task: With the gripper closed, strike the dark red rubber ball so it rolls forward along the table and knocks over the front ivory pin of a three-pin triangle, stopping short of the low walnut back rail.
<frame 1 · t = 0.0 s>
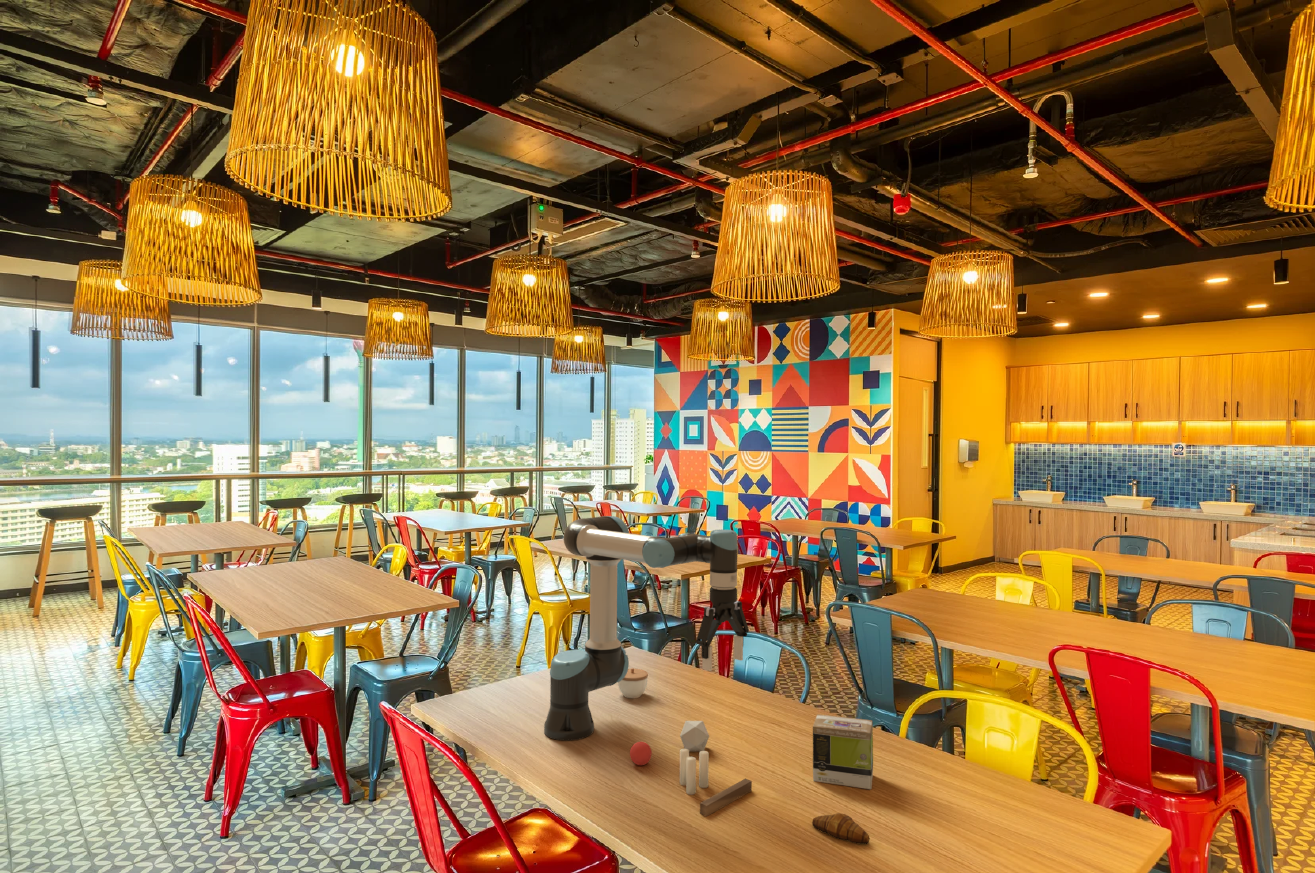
hand: (722, 664, 201), 28 cm above the table, tool pointing down, fingers open, 13 cm apart
back rail: (726, 801, 181), on the table
ball: (640, 753, 202), on the table
die: (694, 749, 212), on the table
back pin right: (690, 792, 186), on the table
croissant: (840, 836, 166), on the table
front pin: (684, 783, 191), on the table
tea box: (843, 778, 195), on the table
back pin left: (703, 785, 190), on the table
lidded jar: (632, 695, 257), on the table
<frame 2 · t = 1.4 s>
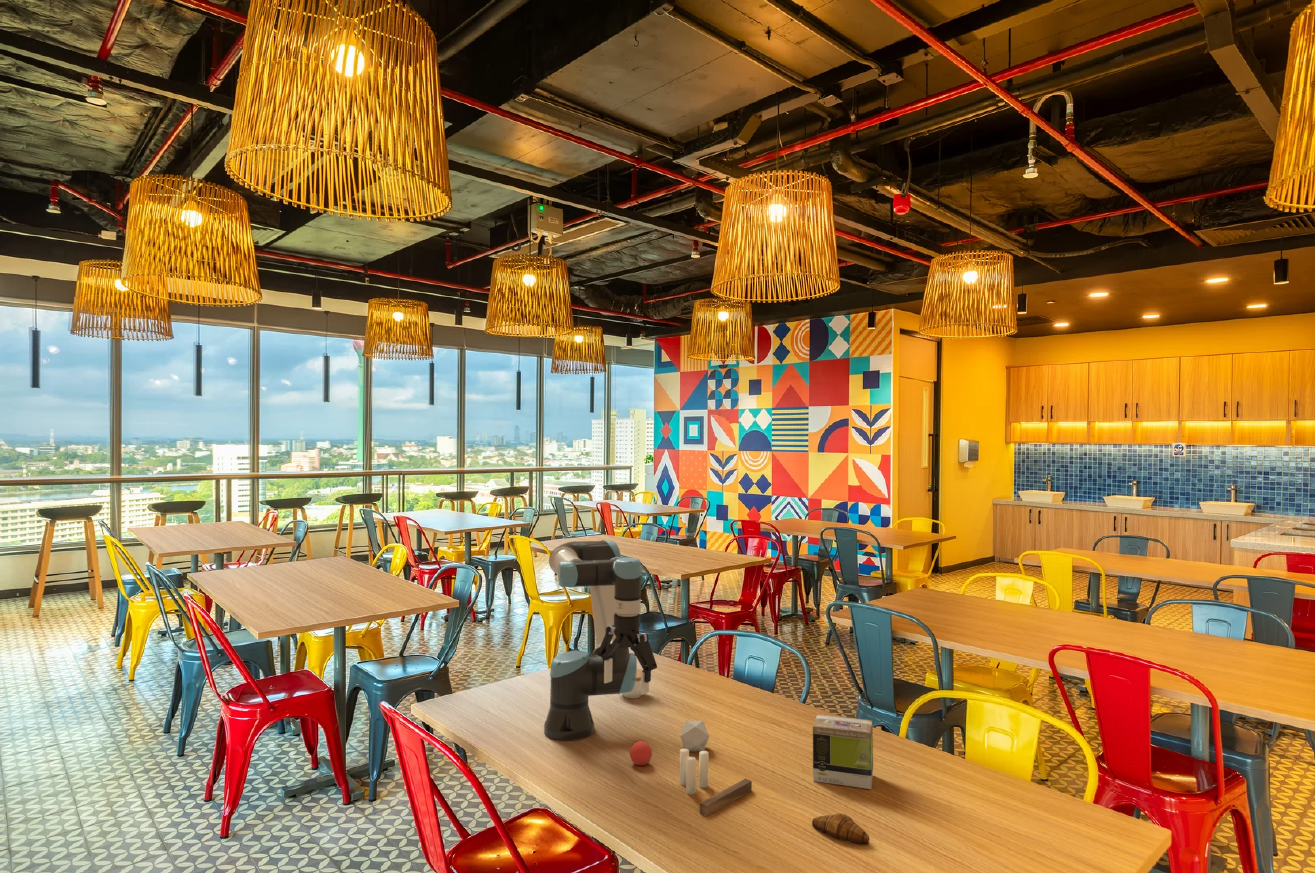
hand: (626, 687, 209), 19 cm above the table, tool pointing down, fingers open, 13 cm apart
nothing on the table moved.
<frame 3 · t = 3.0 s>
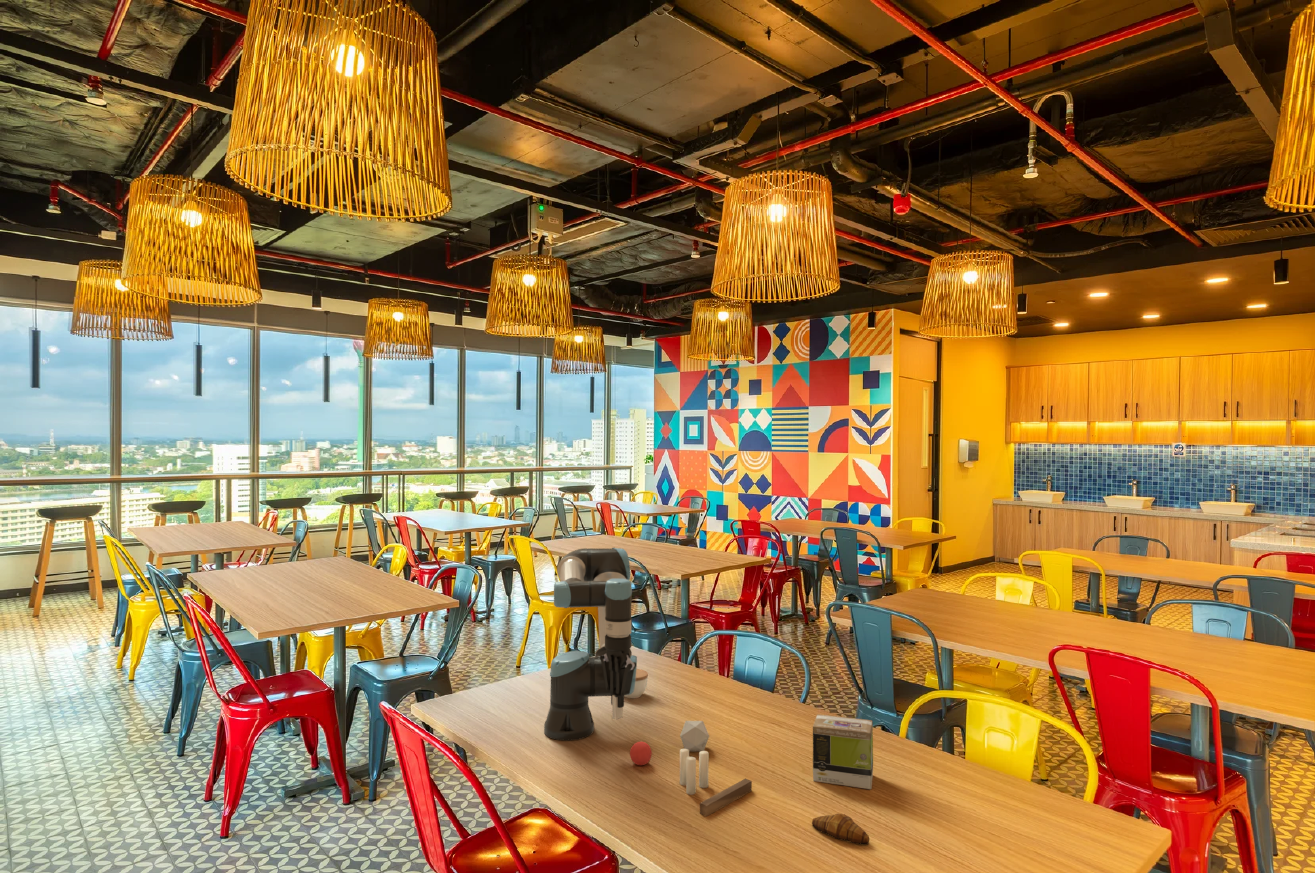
hand: (617, 717, 208), 10 cm above the table, tool pointing down, fingers closed
nothing on the table moved.
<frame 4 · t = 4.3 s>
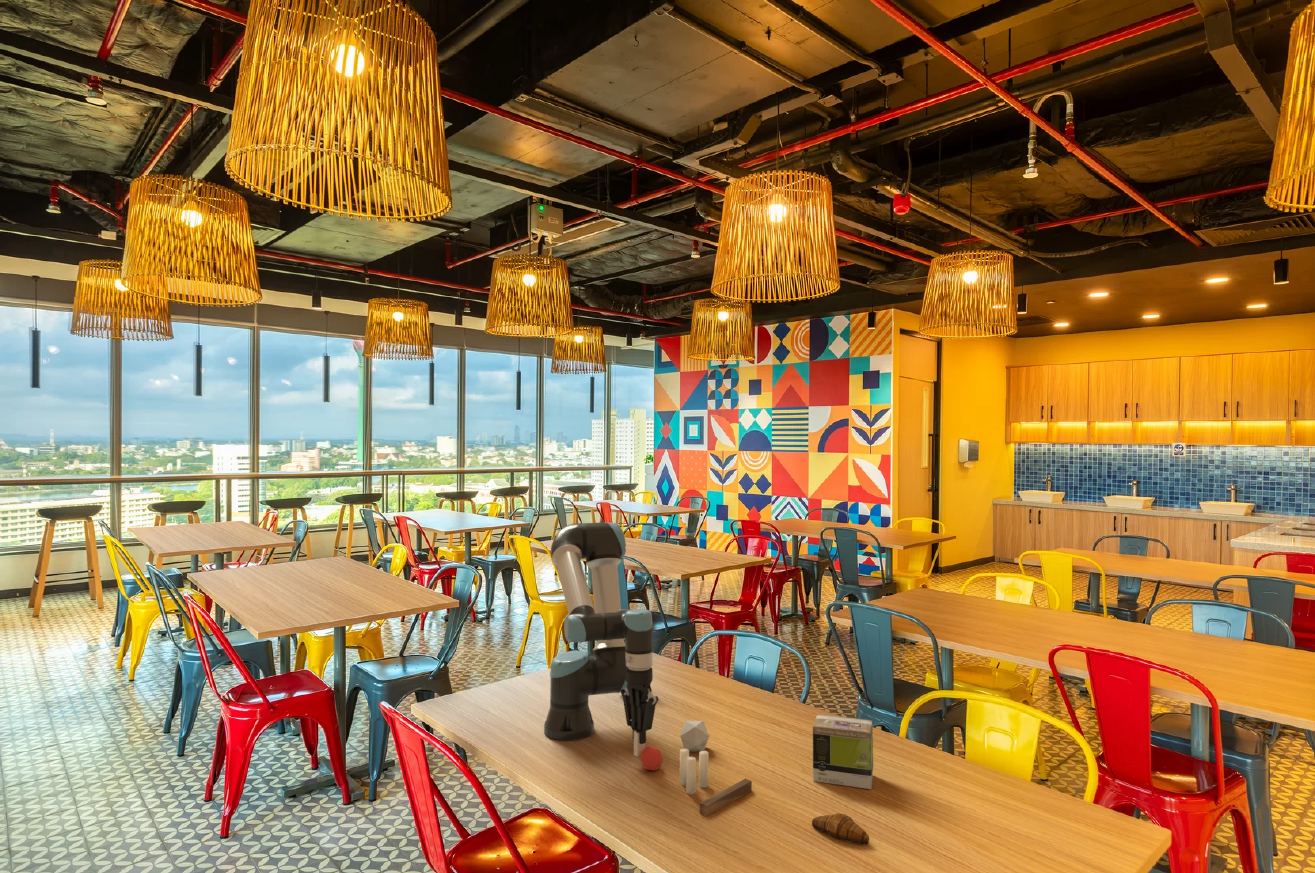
hand: (639, 754, 201), 3 cm above the table, tool pointing down, fingers closed
ball: (651, 758, 199), on the table
everything else where it was.
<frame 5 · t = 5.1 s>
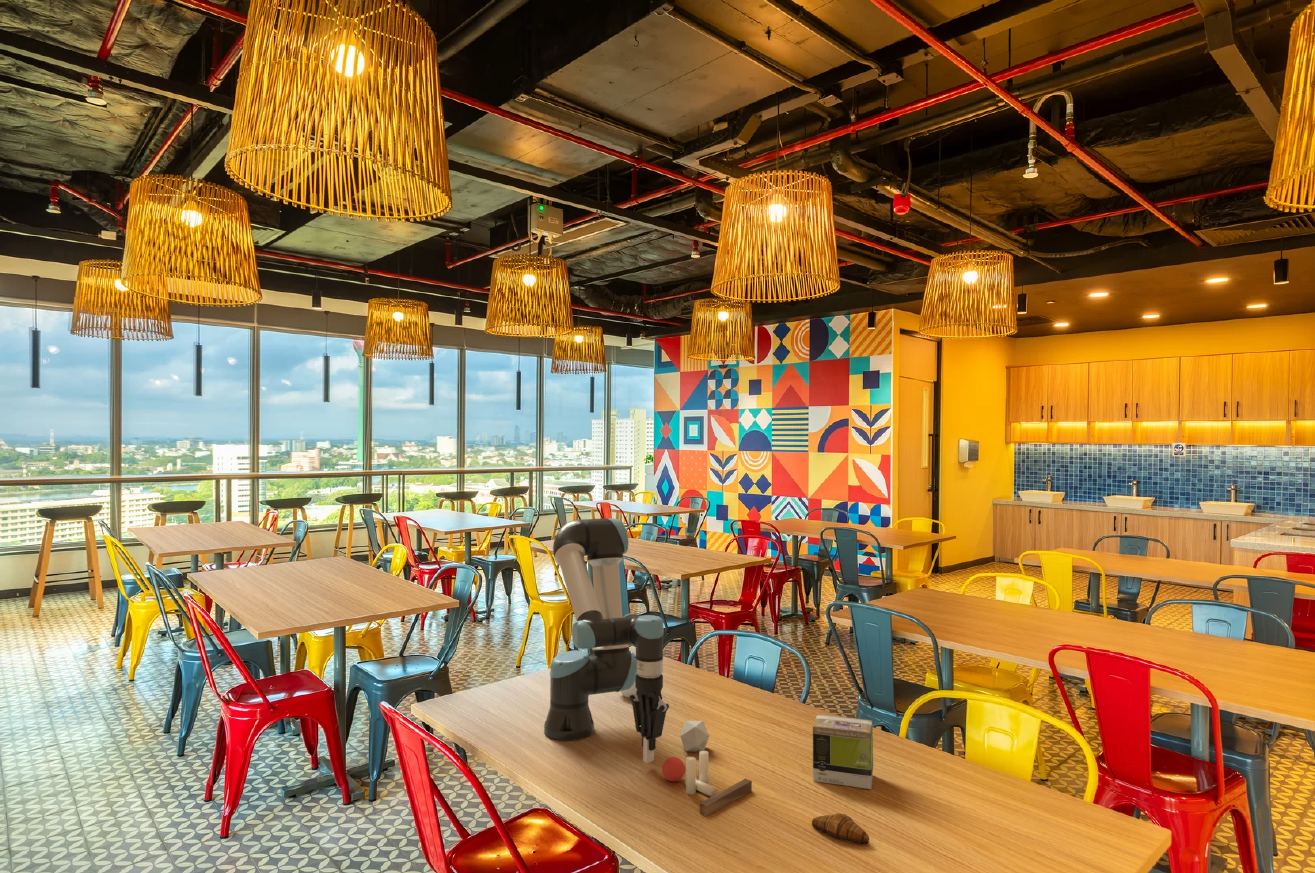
hand: (648, 760, 200), 2 cm above the table, tool pointing down, fingers closed
ball: (673, 768, 192), on the table
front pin: (687, 780, 190), point 1 cm above the table, tilted 90°
everything else where it was.
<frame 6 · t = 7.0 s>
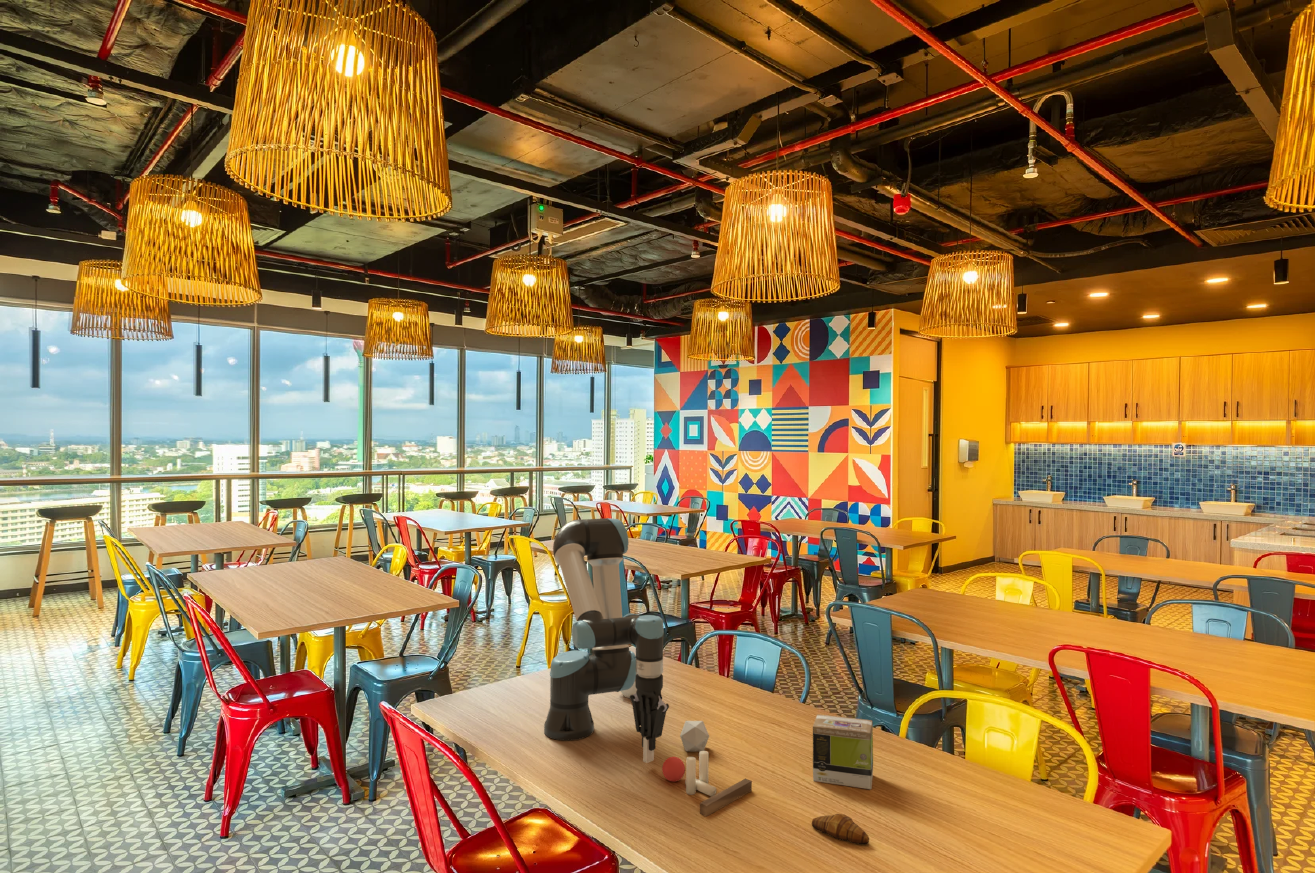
hand: (648, 760, 200), 2 cm above the table, tool pointing down, fingers closed
nothing on the table moved.
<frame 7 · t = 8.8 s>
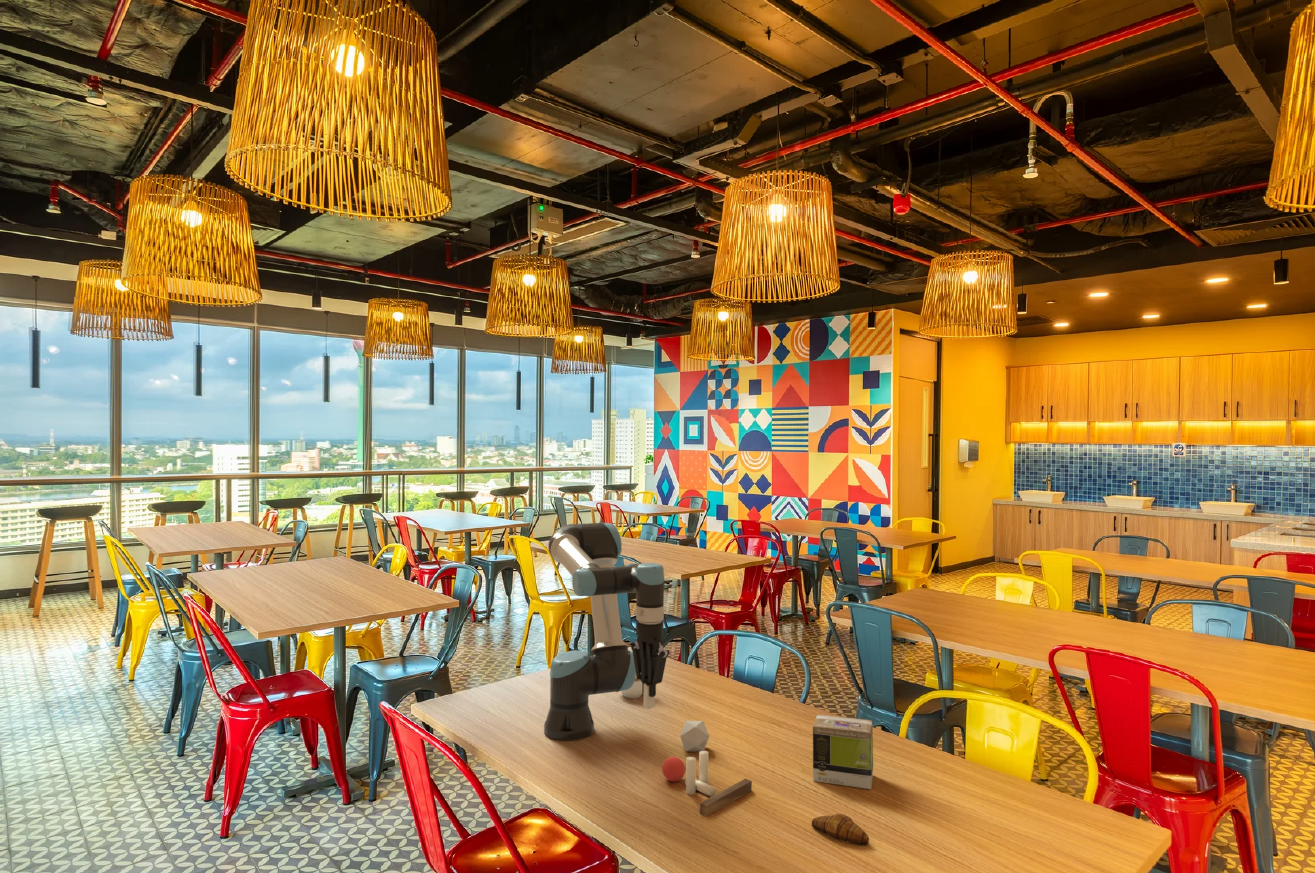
hand: (648, 707, 200), 16 cm above the table, tool pointing down, fingers closed
nothing on the table moved.
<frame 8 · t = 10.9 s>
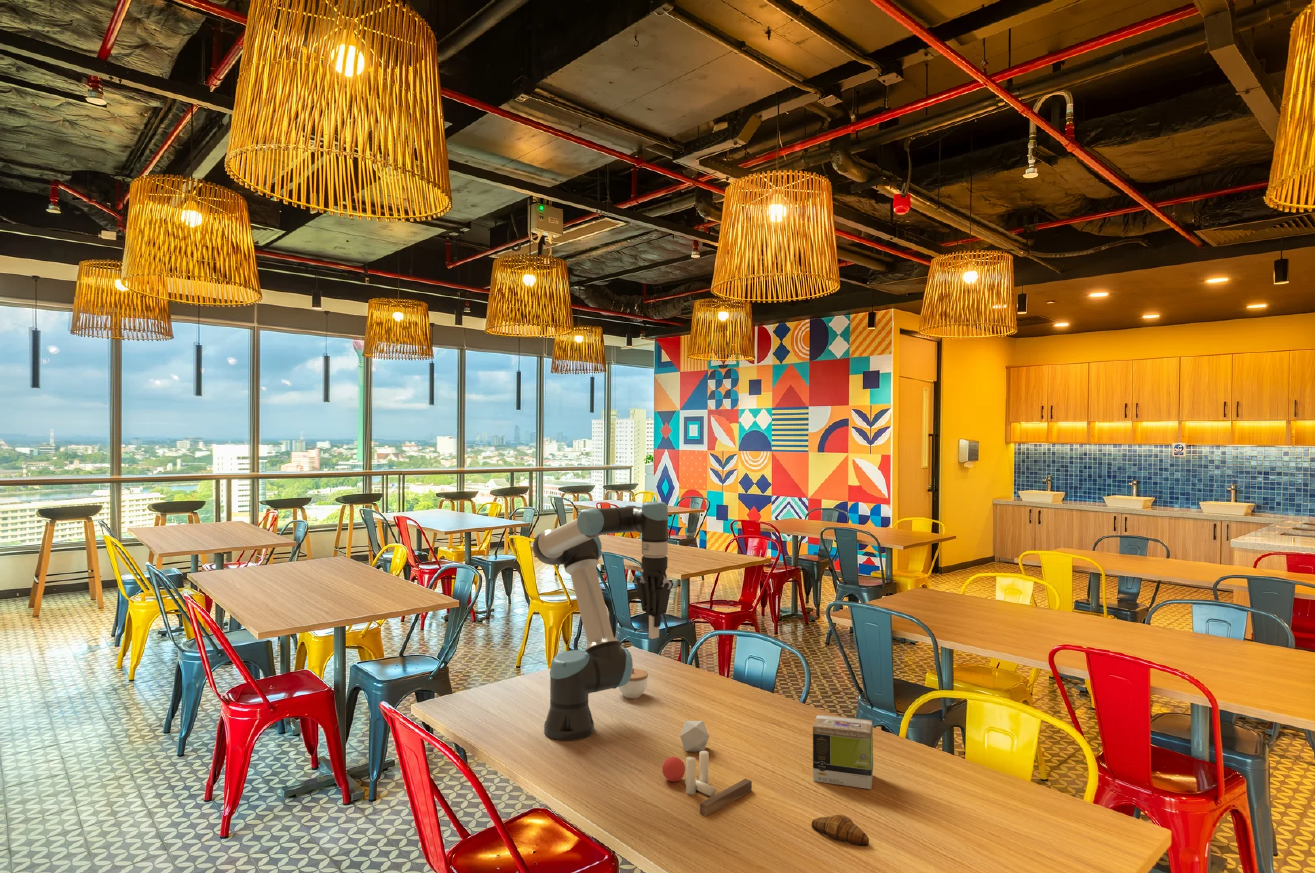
hand: (653, 637, 211), 32 cm above the table, tool pointing down, fingers closed
nothing on the table moved.
at the end: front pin tilted 90°; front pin never touched the robot; ball moved 13.0 cm from its start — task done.
